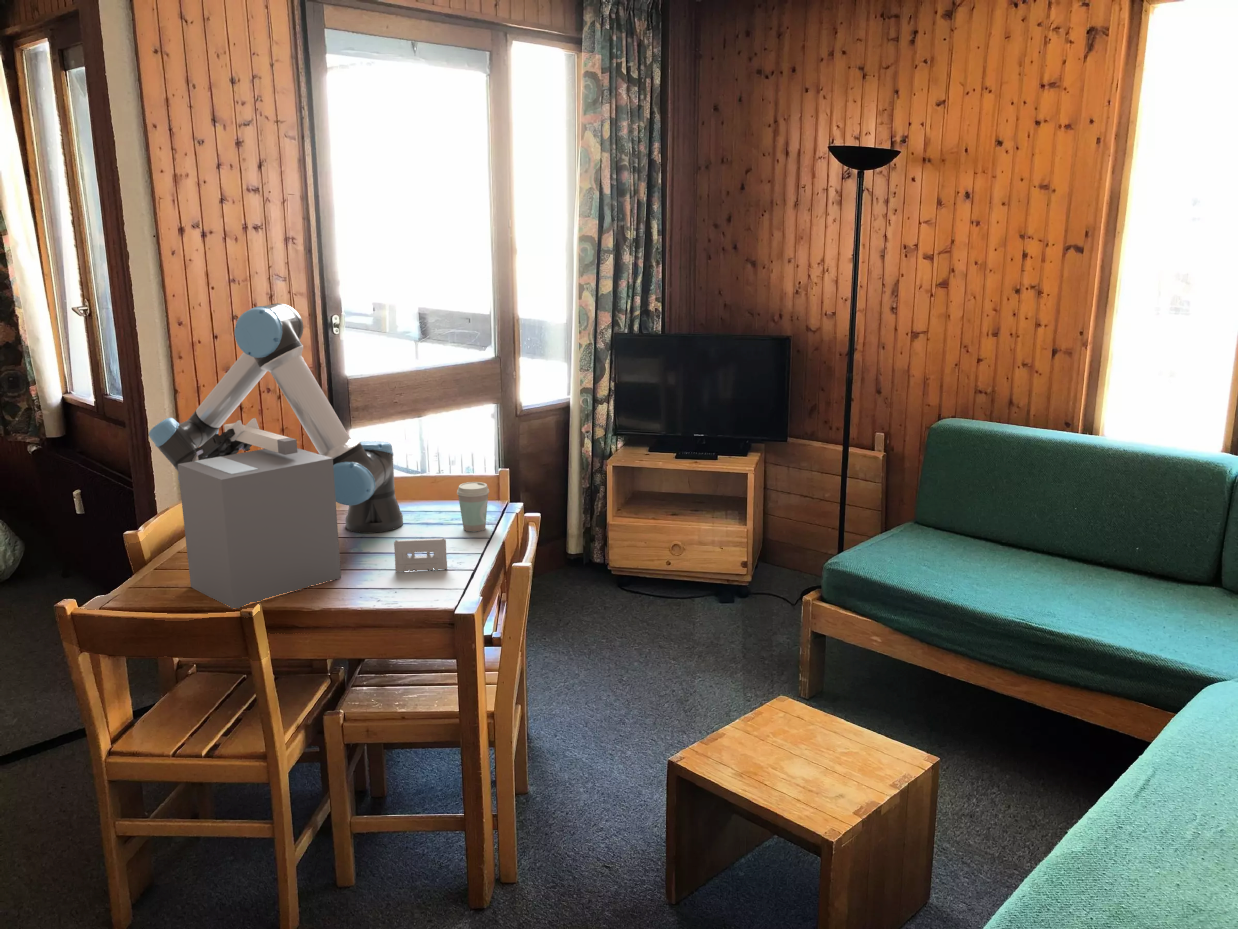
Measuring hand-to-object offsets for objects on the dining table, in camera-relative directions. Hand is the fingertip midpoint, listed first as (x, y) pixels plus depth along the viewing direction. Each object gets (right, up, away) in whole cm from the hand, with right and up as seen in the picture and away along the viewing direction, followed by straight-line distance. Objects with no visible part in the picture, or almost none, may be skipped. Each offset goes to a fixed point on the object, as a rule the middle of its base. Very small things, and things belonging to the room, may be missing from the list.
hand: (248, 424), depth 233 cm
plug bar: (+4, -5, -2) cm, 6 cm away
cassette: (+40, -35, +2) cm, 53 cm away
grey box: (+6, -36, -6) cm, 37 cm away
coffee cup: (+48, -27, +34) cm, 65 cm away
